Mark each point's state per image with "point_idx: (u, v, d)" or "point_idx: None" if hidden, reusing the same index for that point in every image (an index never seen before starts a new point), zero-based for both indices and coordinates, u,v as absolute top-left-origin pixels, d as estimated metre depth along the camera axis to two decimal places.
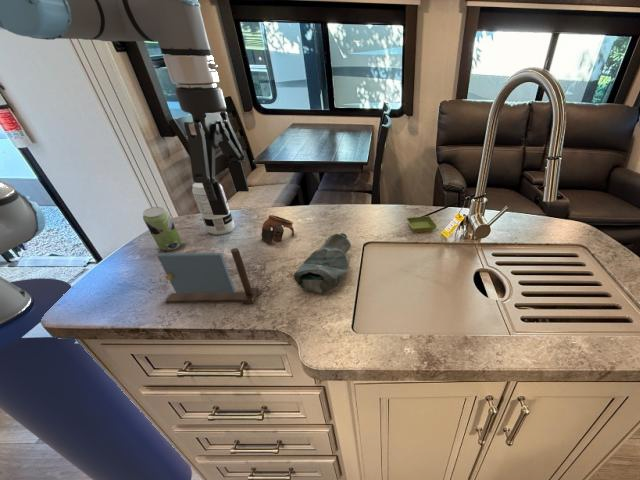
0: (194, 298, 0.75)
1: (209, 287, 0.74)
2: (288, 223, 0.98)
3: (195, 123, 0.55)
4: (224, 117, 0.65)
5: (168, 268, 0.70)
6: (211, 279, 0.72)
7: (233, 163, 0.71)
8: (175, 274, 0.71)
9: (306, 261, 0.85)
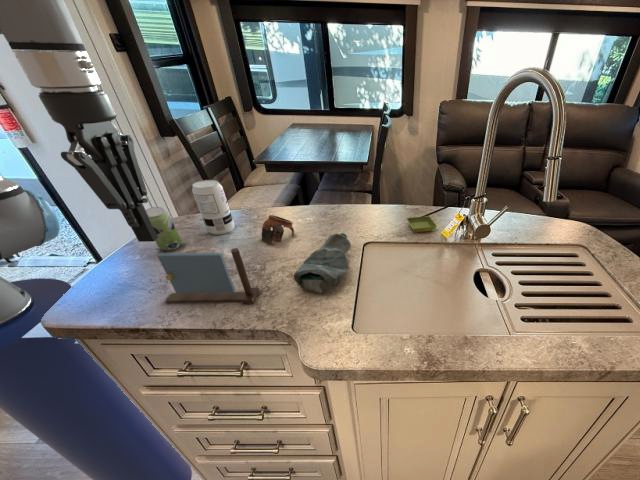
0: (194, 298, 0.75)
1: (209, 287, 0.74)
2: (288, 223, 0.98)
3: (75, 155, 0.45)
4: (126, 139, 0.54)
5: (168, 268, 0.70)
6: (211, 279, 0.72)
7: None
8: (175, 274, 0.71)
9: (306, 261, 0.85)
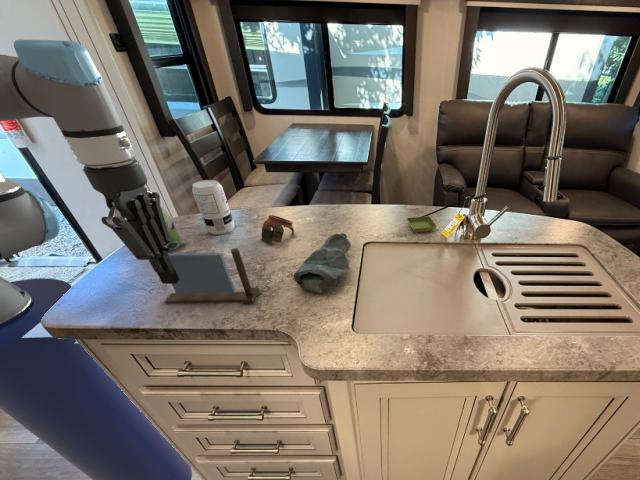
0: (194, 298, 0.75)
1: (209, 287, 0.74)
2: (288, 223, 0.98)
3: (113, 220, 0.51)
4: (153, 196, 0.60)
5: None
6: (211, 279, 0.72)
7: None
8: None
9: (306, 261, 0.85)
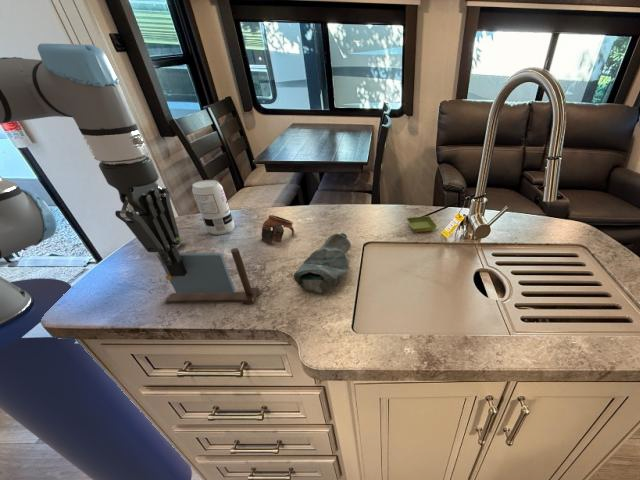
0: (194, 298, 0.75)
1: (209, 286, 0.74)
2: (288, 223, 0.98)
3: (126, 214, 0.54)
4: (164, 192, 0.63)
5: None
6: (211, 279, 0.72)
7: None
8: None
9: (306, 261, 0.85)
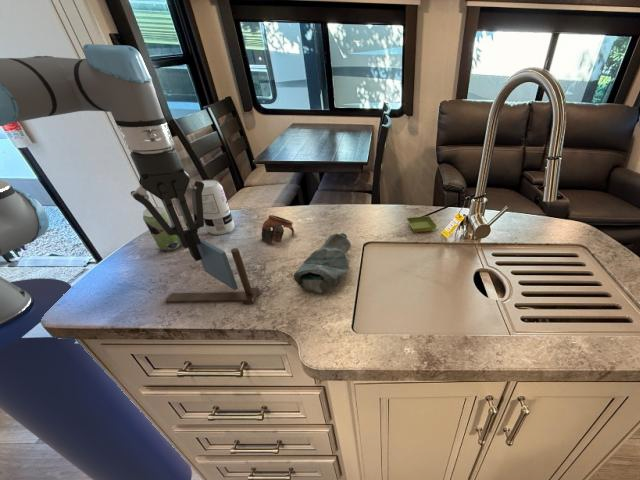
0: (194, 298, 0.75)
1: (220, 277, 0.77)
2: (288, 223, 0.98)
3: (133, 196, 0.61)
4: (197, 184, 0.67)
5: None
6: (220, 271, 0.75)
7: None
8: (201, 256, 0.77)
9: (306, 261, 0.85)
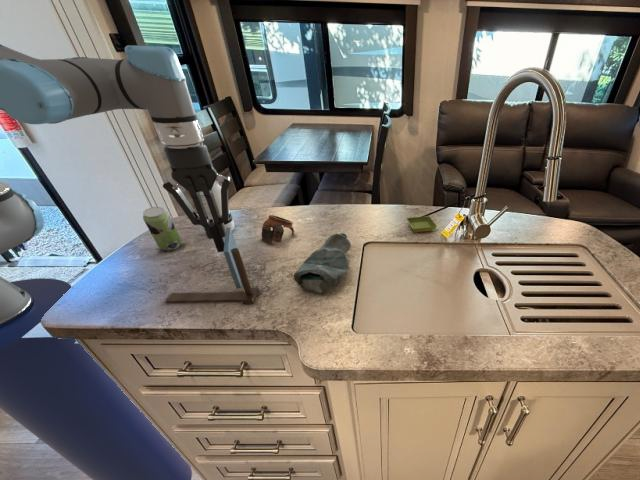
0: (194, 298, 0.75)
1: None
2: (288, 223, 0.98)
3: None
4: (223, 181, 0.69)
5: None
6: None
7: None
8: None
9: (306, 261, 0.85)
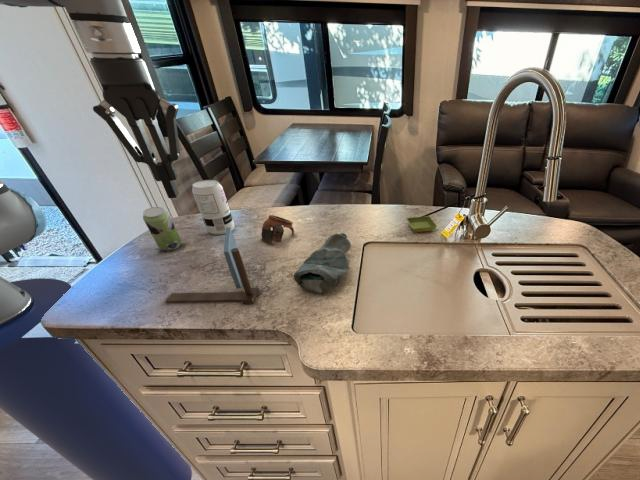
0: (194, 298, 0.75)
1: None
2: (288, 223, 0.98)
3: None
4: (167, 108, 0.59)
5: None
6: None
7: None
8: None
9: (306, 261, 0.85)
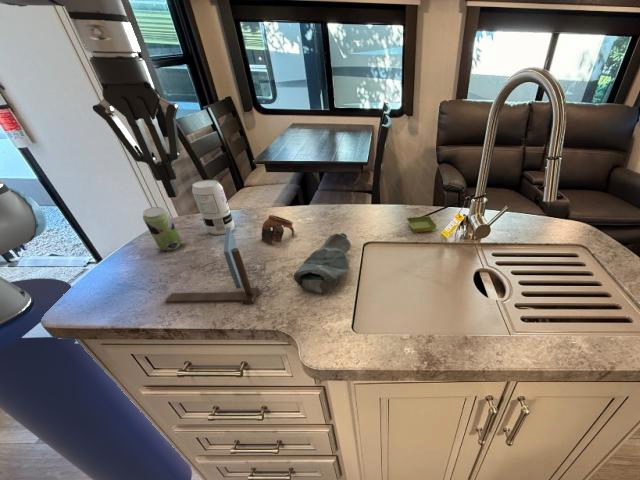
0: (194, 298, 0.75)
1: None
2: (288, 223, 0.98)
3: None
4: (167, 107, 0.58)
5: None
6: None
7: None
8: None
9: (306, 261, 0.85)
